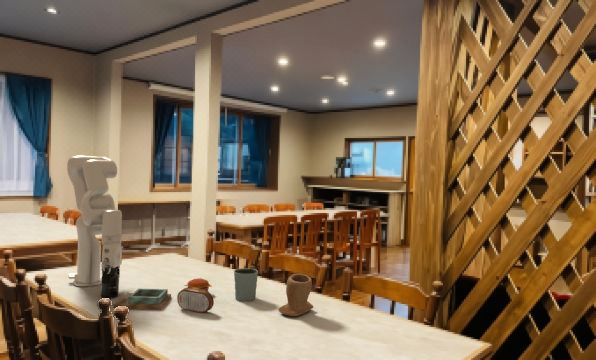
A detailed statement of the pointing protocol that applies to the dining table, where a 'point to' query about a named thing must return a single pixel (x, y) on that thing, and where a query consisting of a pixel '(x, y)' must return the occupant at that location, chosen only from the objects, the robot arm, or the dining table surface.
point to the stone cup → (297, 295)
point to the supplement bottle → (111, 285)
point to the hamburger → (199, 284)
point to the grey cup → (245, 284)
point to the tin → (195, 300)
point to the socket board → (144, 299)
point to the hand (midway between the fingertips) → (110, 280)
